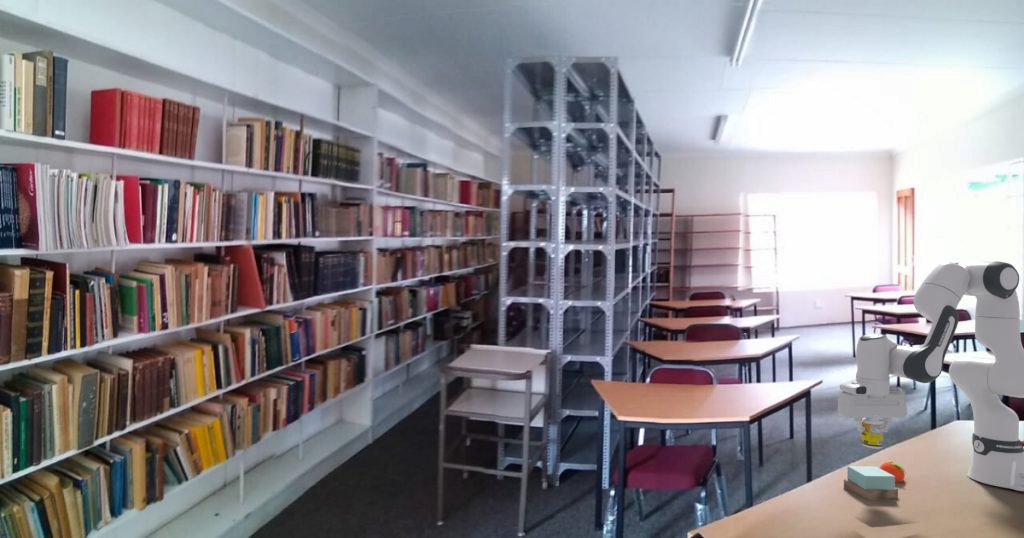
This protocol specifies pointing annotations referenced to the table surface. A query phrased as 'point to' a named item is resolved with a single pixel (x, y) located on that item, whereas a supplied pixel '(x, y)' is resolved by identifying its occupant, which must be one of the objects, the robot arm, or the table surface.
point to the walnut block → (870, 491)
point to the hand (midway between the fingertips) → (872, 431)
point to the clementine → (894, 470)
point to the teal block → (871, 477)
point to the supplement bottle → (872, 432)
